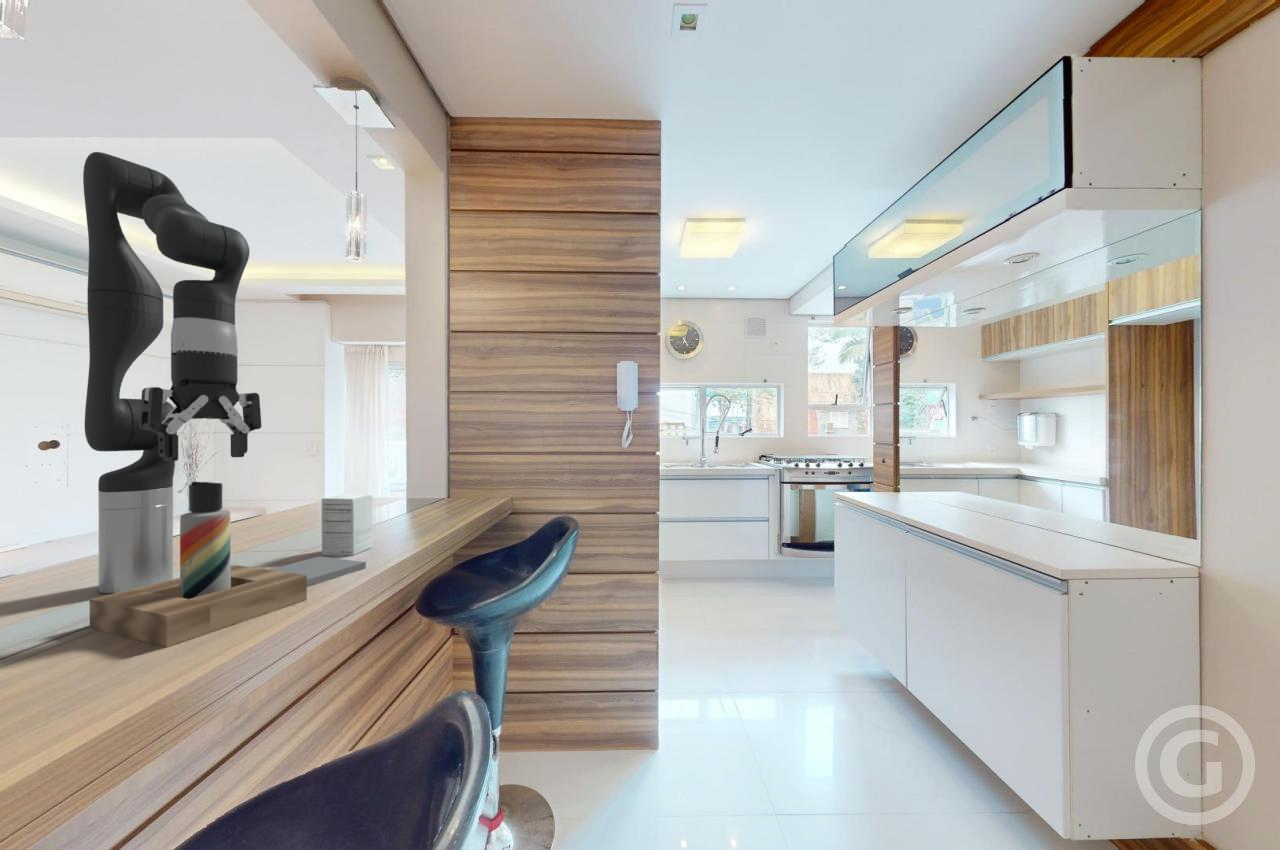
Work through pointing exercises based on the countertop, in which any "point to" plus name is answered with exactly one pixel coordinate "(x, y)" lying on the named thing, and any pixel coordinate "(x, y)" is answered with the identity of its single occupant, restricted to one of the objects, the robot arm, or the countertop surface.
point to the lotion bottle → (205, 542)
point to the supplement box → (346, 524)
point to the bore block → (194, 606)
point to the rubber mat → (322, 568)
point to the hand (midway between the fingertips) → (205, 459)
